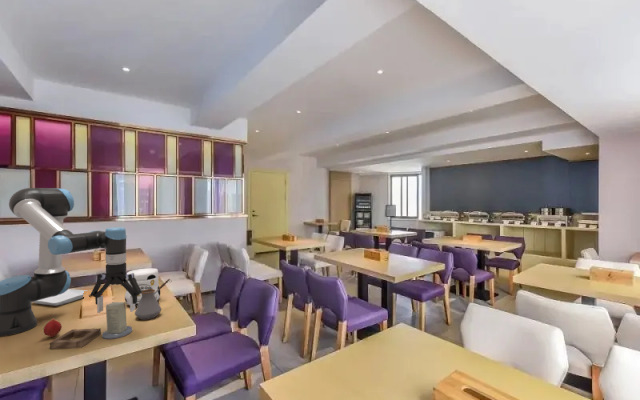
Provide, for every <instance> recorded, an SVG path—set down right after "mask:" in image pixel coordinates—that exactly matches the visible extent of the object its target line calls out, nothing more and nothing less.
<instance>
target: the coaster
mask: <svg viewBox="0 0 640 400" xmlns="http://www.w3.org/2000/svg"><path fill="white" fill-rule="evenodd" d="M132 332H133V327H132V326H130V325H127V329H126V330H124V331H123V332H121V333H107V329H106V330H105V331H103V332H102V334H101V336H102V339H104V340H115V339H120V338H124V337H126V336H128V335H130V334H131V333H132Z"/></svg>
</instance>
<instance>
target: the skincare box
mask: <svg viewBox="0 0 640 400" xmlns="http://www.w3.org/2000/svg"><path fill="white" fill-rule="evenodd" d="M126 306H127V305H126V301H121V302H120V301H117V302H116V301H114V302H113V301H112V302H110V303H108V304H106V305H105V314H106V315H105V316H106V318H105V319H106V330H107V333H121V332H123V331H124V330H126V329H127V326H128V325H127V307H126Z"/></svg>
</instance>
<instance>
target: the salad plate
mask: <svg viewBox="0 0 640 400" xmlns="http://www.w3.org/2000/svg"><path fill="white" fill-rule="evenodd" d="M84 291H87V290H85V289H73V288H68V290H67V291H66V292H64V293H62V294H59V295H57V296H54V297H49V298H45V299H41V300H37V301H33V302H32V303H34V304H37V305H38V304H39V305H47V306H54V307H55V306H56V307H58V306H62V305H66V304H69V303H71V302H75V301H79V300H82V299H83V298H82V297H83V295H84V294H83V293H84Z"/></svg>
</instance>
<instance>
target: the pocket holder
mask: <svg viewBox="0 0 640 400" xmlns="http://www.w3.org/2000/svg"><path fill="white" fill-rule="evenodd" d="M101 333H102V330H101V328H80V329H76V328H74V329H71V330H69V331H67V332H65V333H64V334H62V335H61V336H58V337H56V338H55V339H54V340H52V341H50V342H49V343H48V345H49V350H56V349H57V350H59V349H60V350H62V349H64V350H65V349H79V348H80V349H82V348H83V347H85V346H86V345H88V344H89V343H91V342H92V341H93V340H95V339H96V338H98V337H99V336H100V335H102V334H101ZM73 338H77V339H73ZM78 338H80V339H78Z"/></svg>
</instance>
